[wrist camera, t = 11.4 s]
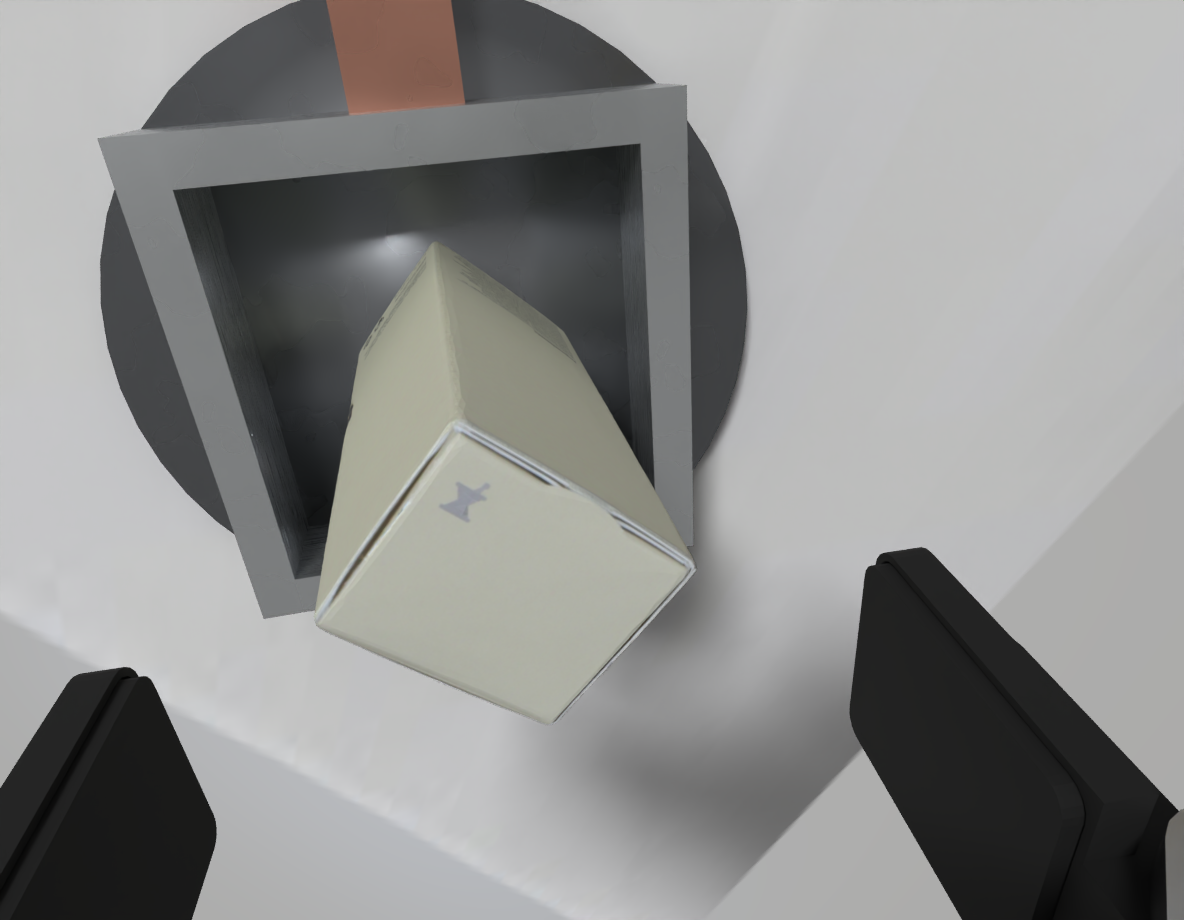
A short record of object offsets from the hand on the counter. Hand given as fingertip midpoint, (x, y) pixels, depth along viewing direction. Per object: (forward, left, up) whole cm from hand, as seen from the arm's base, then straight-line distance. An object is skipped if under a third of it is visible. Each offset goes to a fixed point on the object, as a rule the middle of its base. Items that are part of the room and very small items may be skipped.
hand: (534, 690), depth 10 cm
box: (0, 0, -15) cm, 15 cm away
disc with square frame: (+1, -2, -16) cm, 16 cm away
